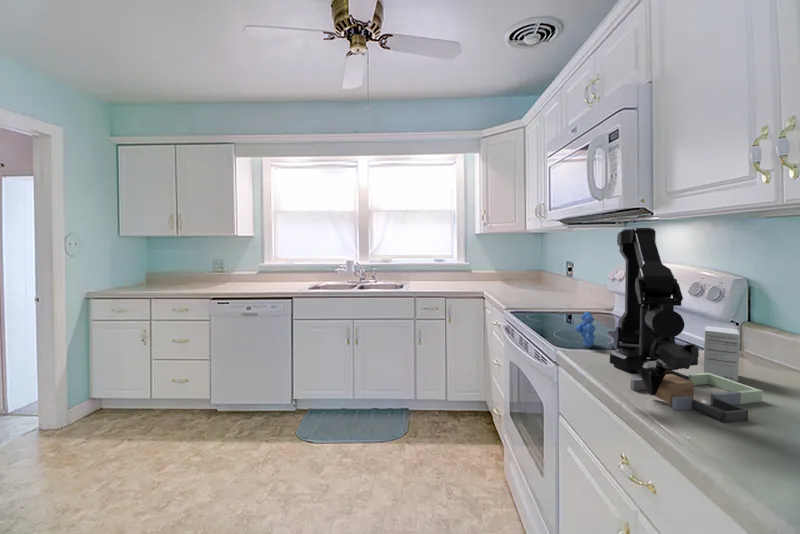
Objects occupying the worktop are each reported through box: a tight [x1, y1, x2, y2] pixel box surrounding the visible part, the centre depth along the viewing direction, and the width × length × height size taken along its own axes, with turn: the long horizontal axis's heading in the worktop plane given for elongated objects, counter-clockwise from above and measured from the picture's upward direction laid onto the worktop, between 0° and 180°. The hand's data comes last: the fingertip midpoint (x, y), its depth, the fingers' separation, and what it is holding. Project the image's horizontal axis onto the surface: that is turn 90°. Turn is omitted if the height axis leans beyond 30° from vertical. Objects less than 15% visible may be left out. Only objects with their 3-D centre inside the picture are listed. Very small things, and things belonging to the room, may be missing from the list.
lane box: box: [629, 370, 764, 424], centre depth 95 cm, size 27×23×2 cm
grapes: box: [574, 310, 596, 348], centre depth 141 cm, size 12×7×12 cm, turn 165°
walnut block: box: [653, 374, 695, 404], centre depth 94 cm, size 6×6×4 cm
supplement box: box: [702, 325, 741, 383], centre depth 109 cm, size 7×7×13 cm
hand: (652, 394), depth 93 cm, fingers closed
